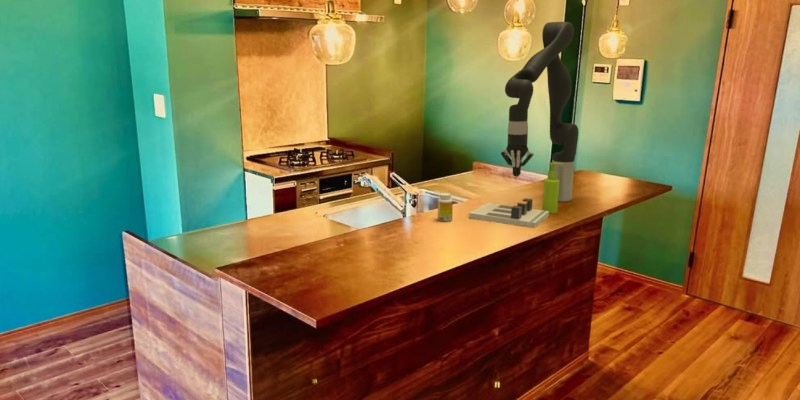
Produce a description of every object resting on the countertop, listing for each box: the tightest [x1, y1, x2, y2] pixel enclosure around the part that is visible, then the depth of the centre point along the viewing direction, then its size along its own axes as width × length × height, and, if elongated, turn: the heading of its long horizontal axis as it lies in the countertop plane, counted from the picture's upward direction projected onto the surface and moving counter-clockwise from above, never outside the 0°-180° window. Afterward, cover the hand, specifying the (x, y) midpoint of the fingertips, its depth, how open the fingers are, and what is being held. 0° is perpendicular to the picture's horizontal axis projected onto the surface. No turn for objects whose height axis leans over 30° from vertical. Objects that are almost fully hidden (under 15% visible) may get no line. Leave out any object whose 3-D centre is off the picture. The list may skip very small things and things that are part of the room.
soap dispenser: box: [541, 162, 563, 214], centre depth 224 cm, size 6×7×20 cm
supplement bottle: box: [437, 192, 453, 222], centre depth 214 cm, size 6×6×10 cm
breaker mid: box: [516, 200, 527, 215], centre depth 215 cm, size 3×3×4 cm
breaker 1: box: [511, 205, 522, 219], centre depth 210 cm, size 3×3×4 cm
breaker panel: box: [468, 202, 550, 229], centre depth 219 cm, size 18×26×2 cm
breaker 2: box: [522, 198, 533, 211], centre depth 221 cm, size 3×3×4 cm
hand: (516, 176), depth 220 cm, fingers closed
